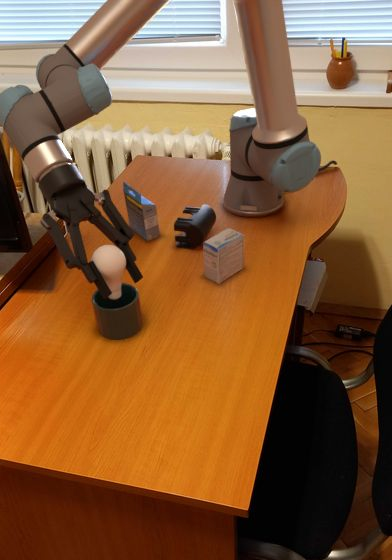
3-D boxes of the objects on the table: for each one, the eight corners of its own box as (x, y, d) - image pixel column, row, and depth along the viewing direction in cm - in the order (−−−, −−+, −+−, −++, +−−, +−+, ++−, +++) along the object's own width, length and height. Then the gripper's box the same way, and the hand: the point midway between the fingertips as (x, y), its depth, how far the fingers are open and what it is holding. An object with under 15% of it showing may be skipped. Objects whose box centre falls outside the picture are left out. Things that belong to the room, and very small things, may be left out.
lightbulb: (99, 310, 100) (89, 258, 93) (98, 291, 105) (87, 241, 98) (133, 305, 101) (125, 253, 94) (129, 287, 106) (122, 236, 98)
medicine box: (229, 262, 122) (228, 226, 116) (244, 269, 120) (244, 233, 114) (204, 277, 118) (202, 241, 112) (219, 285, 116) (218, 249, 110)
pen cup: (135, 307, 111) (130, 278, 107) (148, 332, 105) (144, 302, 101) (93, 318, 109) (86, 289, 105) (104, 345, 103) (98, 315, 98)
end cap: (204, 252, 126) (202, 225, 121) (175, 248, 128) (172, 222, 123) (216, 231, 133) (216, 205, 128) (189, 227, 135) (187, 201, 130)
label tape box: (160, 236, 132) (155, 188, 124) (146, 242, 131) (140, 193, 122) (142, 223, 138) (136, 175, 130) (128, 228, 136) (121, 180, 128)
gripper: (95, 167, 105) (157, 273, 106) (3, 202, 96) (73, 317, 97) (106, 147, 98) (173, 259, 99) (9, 181, 89) (84, 305, 90)
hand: (123, 287), depth 98 cm, fingers closed on lightbulb, 6 cm apart
